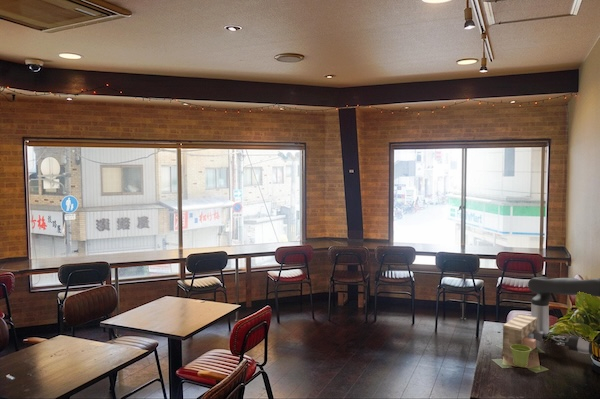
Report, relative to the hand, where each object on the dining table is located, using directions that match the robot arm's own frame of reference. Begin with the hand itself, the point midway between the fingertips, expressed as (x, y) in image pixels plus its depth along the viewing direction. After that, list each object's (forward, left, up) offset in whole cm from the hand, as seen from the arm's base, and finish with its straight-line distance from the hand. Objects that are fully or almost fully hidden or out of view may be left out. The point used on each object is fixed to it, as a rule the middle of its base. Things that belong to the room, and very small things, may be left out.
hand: (543, 336), depth 251 cm
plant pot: (+26, +4, -8) cm, 28 cm away
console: (+10, -7, -8) cm, 14 cm away
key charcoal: (+1, -3, -2) cm, 4 cm away
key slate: (+9, -4, -2) cm, 10 cm away
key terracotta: (+15, +1, -2) cm, 15 cm away
